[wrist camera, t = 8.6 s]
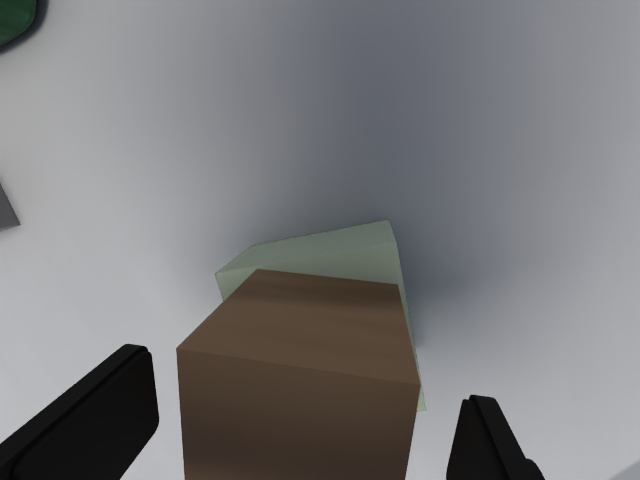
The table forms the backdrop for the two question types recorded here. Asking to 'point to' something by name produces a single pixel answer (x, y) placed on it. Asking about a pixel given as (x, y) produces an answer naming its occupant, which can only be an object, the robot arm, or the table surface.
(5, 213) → the charcoal block
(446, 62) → the table surface
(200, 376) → the walnut cube
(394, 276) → the sage block
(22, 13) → the coffee jar
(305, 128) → the table surface
